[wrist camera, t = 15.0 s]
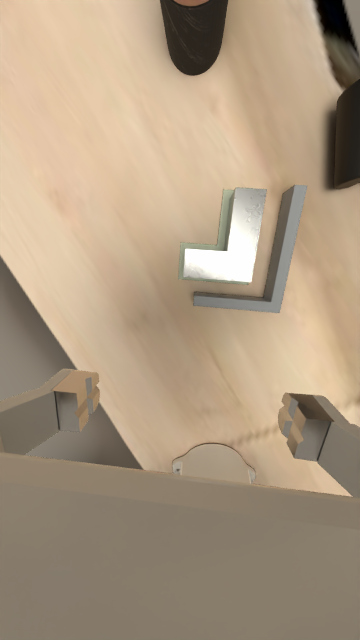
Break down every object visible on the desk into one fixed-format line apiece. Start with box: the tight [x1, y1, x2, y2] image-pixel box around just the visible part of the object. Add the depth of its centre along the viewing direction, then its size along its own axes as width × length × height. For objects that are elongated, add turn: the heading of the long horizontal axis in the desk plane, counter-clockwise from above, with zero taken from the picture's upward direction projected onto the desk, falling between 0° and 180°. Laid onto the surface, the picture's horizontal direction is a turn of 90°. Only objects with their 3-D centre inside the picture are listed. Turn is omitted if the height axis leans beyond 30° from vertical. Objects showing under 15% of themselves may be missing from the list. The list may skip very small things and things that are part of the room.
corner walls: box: [193, 185, 307, 313], centre depth 33 cm, size 18×14×4 cm
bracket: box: [183, 188, 267, 282], centre depth 32 cm, size 10×12×5 cm
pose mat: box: [178, 190, 249, 285], centre depth 34 cm, size 14×12×1 cm
